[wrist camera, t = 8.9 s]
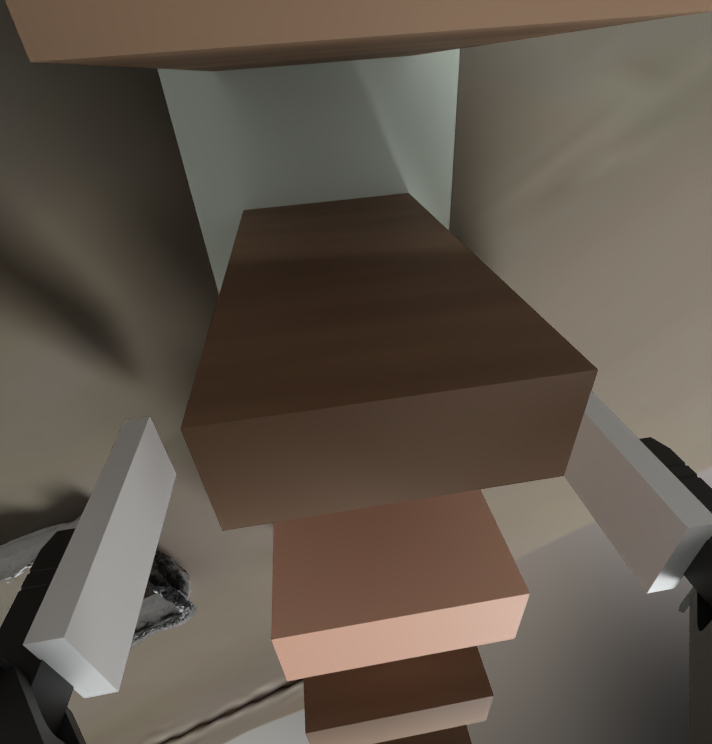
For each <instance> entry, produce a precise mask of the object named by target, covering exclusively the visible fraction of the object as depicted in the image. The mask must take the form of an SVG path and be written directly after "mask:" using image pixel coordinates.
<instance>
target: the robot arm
mask: <svg viewBox="0 0 712 744" xmlns="http://www.w3.org/2000/svg"><path fill="white" fill-rule="evenodd" d="M564 476H565V477H566V479H567V480H568V482H569V483H570V485H571V486H572V487H573V489H574V490H575V492H576V493H577V495H578V496H579V497H580V499H581V500H582V502H583V503H584V504H585V506H586V507H587V509H588V510H589V512H590V513H591V514H592V516H593V517H594V519H595V520H596V522H597V523H598V524H599V526H600V527H601V529H602V530H603V531H604V533H605V534H606V536H607V537H608V539H609V540H610V541H611V543H612V544H613V546H614V547H615V549H616V550H617V551H618V553H619V554H620V556H621V557H622V558H623V560H624V561H625V563H626V564H627V566H628V567H629V568H630V570H631V571H632V573H633V574H634V575H635V577H636V578H637V580H638V581H639V583H640V584H641V585H642V587H643V588H644V590H645V591H646V593H651V592H657V591H662V590H667V589H673V588H675V587H676V586H677V584H678V583H679V582H680V580H681V579H682V577H683V576H684V575H685V577H686V578H687V579H688V580H689V582H690V583H691V584H692V585H693V588H692V589H691V590H690V592H689V593H688V595H687V596H686V597H685V599H684V600H683V602H682V603H681V604H680V607H679V611H681V612H683V613H684V611H685V610H686V609H687V608H688V607H689V605H690V625H689V629H690V631H689V633H690V635H689V640H690V641H689V744H712V488H710V487H709V486H708V485H707V484H706V483H705V482H704V481H703V480H702V479H701V478H698V477H697V474H696V473H695V472H694V471H693V470H692V469H691V468H690V467H689V466H686V465H685V462H684V461H682V460H681V459H680V458H679V457H678V456H677V455H676V454H675V453H674V452H673V451H672V450H671V449H670V448H668V447H667V446H665V445H663V444H661V443H660V442H658V441H656V440H655V439H653V438H651V437H649V438H643V439H638V438H637V437H636V436H635V435H634V434H633V433H632V432H631V431H630V429H629V428H628V427H627V426H626V425H625V424H624V423H623V422H622V421H621V420H620V419H619V418H618V417H617V416H616V415H615V414H614V413H613V412H612V411H611V410H610V409H609V408H608V407H607V406H606V405H605V404H604V403H603V402H602V401H601V400H600V399H599V398H598V397H597V396H596V395H595V394H594V393H593V392H592V391H591V393H590V396H589V399H588V402H587V406H586V409H585V412H584V415H583V418H582V421H581V424H580V428H579V431H578V434H577V437H576V440H575V443H574V446H573V449H572V453H571V456H570V459H569V462H568V465H567V468H566V471H565V474H564ZM175 477H176V473H175V470H174V468H173V466H172V464H171V462H170V460H169V457H168V455H167V453H166V451H165V449H164V446H163V444H162V442H161V440H160V438H159V435H158V433H157V431H156V429H155V427H154V424H153V422H152V420H151V418H150V416H148V417H141V418H134V419H126V420H125V421H124V423H123V426H122V428H121V430H120V432H119V434H118V437H117V439H116V441H115V443H114V445H113V448H112V450H111V452H110V454H109V456H108V459H107V461H106V463H105V465H104V467H103V469H102V472H101V474H100V476H99V478H98V480H97V483H96V485H95V487H94V489H93V491H92V494H91V496H90V498H89V500H88V502H87V505H86V507H85V509H84V511H83V513H82V516H81V518H80V520H79V522H78V524H77V527H76V528H73V529H67V530H60V531H57V532H56V533H55V534H54V535H53V536H52V537H51V538H50V540H49V541H48V542H47V543H46V544H45V545H44V546H43V547H42V548H41V549H40V551H39V553H38V555H37V557H36V559H35V561H34V563H33V565H32V567H31V569H30V574H28V575H27V577H26V579H25V581H24V582H23V584H22V586H21V588H22V589H21V591H19V592H18V594H17V596H16V598H15V600H14V602H13V604H12V606H11V608H10V610H9V612H8V614H7V616H6V618H5V620H4V622H3V624H2V626H1V628H0V744H86V742H85V740H84V738H83V736H82V733H81V731H80V729H79V727H78V725H77V722H76V720H75V718H74V716H73V714H72V712H71V711H70V710H69V709H68V707H67V705H68V703H69V700H70V697H71V694H72V691H73V689H74V690H76V691H77V692H78V693H79V694H80V695H81V696H82V697H84V698H87V697H93V696H98V695H104V694H109V693H114V692H119V688H120V684H121V681H122V677H123V673H124V669H125V666H126V662H127V658H128V654H129V650H130V647H131V643H132V639H133V635H134V632H135V628H136V624H137V620H138V617H139V613H140V609H141V605H142V601H143V598H144V594H145V590H146V586H147V583H148V579H149V575H150V571H151V568H152V564H153V560H154V556H155V552H156V549H157V545H158V541H159V537H160V534H161V530H162V526H163V522H164V519H165V515H166V511H167V507H168V504H169V500H170V496H171V492H172V488H173V485H174V481H175Z"/></svg>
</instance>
